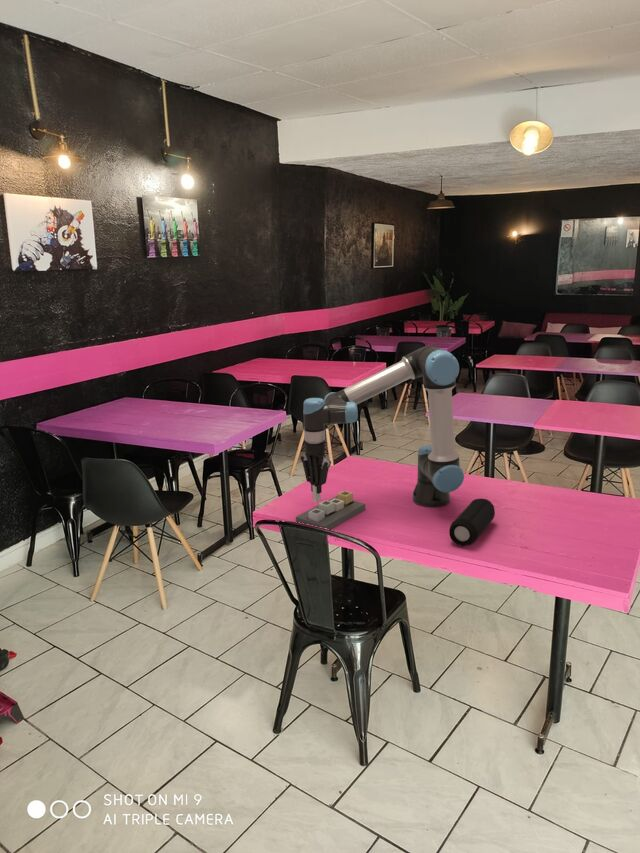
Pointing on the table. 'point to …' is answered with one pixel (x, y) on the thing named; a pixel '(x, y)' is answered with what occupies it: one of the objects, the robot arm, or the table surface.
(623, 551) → the table surface
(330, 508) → the key
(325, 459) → the robot arm
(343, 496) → the key
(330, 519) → the keypad
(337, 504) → the key
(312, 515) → the key
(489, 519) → the portable speaker
